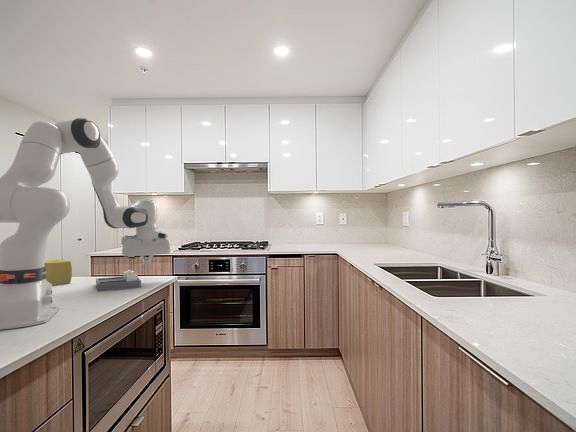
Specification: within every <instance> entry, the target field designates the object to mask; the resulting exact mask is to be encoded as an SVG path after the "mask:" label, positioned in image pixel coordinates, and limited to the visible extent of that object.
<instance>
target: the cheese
mask: <svg viewBox="0 0 576 432" xmlns="http://www.w3.org/2000/svg"><path fill="white" fill-rule="evenodd" d="M44 265H45V267H46V270H47V273H46V278H45V279H46V280H47V281H48V282H49V283H50V284H52V286H59V285H64V284H65V285H66V284H71V281H72V275H73V268H72V267H73V266H72V263H71V261H70V260H66V259H63V258H62V259H60V258H58V259H57V258H56V259H49V260H45V263H44Z"/></svg>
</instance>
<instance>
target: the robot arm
mask: <svg viewBox="0 0 576 432" xmlns="http://www.w3.org/2000/svg"><path fill="white" fill-rule="evenodd" d="M76 152H77V153H78V155H79V156H80V157H81V161H82V163H83V164H84V166H85V169H86V170H87V172H88V174H89V176H90V180H91V184H92V187H93V189H94V192H95V194H96V196H97V199H98V201H99V203H100V206H101V209H102V213H103V219H104V222H105V224H106V225H107V226H108V227H109V228H112V229H135V234H131V235H129V234H127V235H125V236H123V237H121V245H122V246H121V247H122V248H121V249H122V250H121V255H123V257H137V256H138V257H139V258H140V259H141V261H142V265H143V266H151V261H152V260H153V258H154V256H155V255H156V256H157V255H158V256H159V255H168V254H170V252H171V244H170V240H169V239H168V233H165V232H163V231H158V227H157V220H158V208H157V204H156V201H154V200H152V199H149V198H138V199H137V200H136V201H135V202H133V203H131V204H129V205H123V206H122V205H120V204H119V203H118V202H117V199H116V196H115V194H114V192H113V189H112V182H114V180H116V178H117V176H118V174H119V173H120V171H119V165H118V162H117V161H116V158H115V156H114V154H113V152H112V150H111V149H110V147H109V146H108V144H107V143H106V141H105V140H104V139H103V138H102V136H101V132H100V129H99V126H98V125H96V123H94V122H93V121H92V120H91V119H89V118H85V117H84V118H83V117H79V118H75V119H70V120H64V121H60V122H56V123H54V124H53V123H51V122H48V121H41V120H40V121H35V122H33V123H31V125H30V126H29V127H28V128H27V129H26V131H25V132H24V135H23V137H22V139H21V141H20V144H19V146H18V148H17V152H16V155H15V157H14V159H13V161H12V163H11V165H10V167H9V168H8V169H7V170H6V172H5V173H4V174H3V175H2V176H1V177H0V223H2V224H4V223H7V224H8V223H14V224H17V223H18V224H19V225H18V228H17V230H16V232H15V233H14V234H13V235H10V236H8V237H6V238H5V239H4V240H2V242H1V243H0V330H9V329H10V330H11V329H16V328H17V329H18V328H22V327H23V328H24V327H25V328H26V327H30V326H31V327H32V326H36V325H41V324H45V323H47V322H49V320H50V319H51V318H53V316H54V315H55V314H56V313H57V312H58V311H60V306H59V305H53V285H52V284H50V283H49V282H48V281H47V280H46V279H45V278H46V273H47V270H46V267H45V265H44V263H45V261H46V260H45V259H46V258H45V256H46V245H47V244H46V243H47V240H48V237H49V235H50V233H51V231H52V230H53V228H54V227H55V226H56V225H57V224H59V223H60V222H61V221H64V219H65V218H66V217H67V216H68V214H69V212H70V208H71V202H70V199H69V197H68V196H67V194H66V193H65V192H64V191H62V190H60V189H55V188H51V187H43V186H42V185H45V184H46V183H48V182H50V181H51V180H52V179H53V177H54V176H55V175H56V174H55V173H56V170H57V166H58V163H59V159H60V155H64V154H69V153H76ZM145 256H148V257H149V258H148V260H145V259H144V258H145Z"/></svg>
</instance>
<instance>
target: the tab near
mask: <svg viewBox="0 0 576 432" xmlns="http://www.w3.org/2000/svg"><path fill="white" fill-rule="evenodd" d="M137 277H138V274H137V273H135V274H133V273H130V274H126V282H128V281H137Z"/></svg>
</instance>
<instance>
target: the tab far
mask: <svg viewBox="0 0 576 432" xmlns="http://www.w3.org/2000/svg"><path fill="white" fill-rule="evenodd" d="M130 273H133V274H136V272H135V271H134V270H130V269H128V270H127V271H123V276H124V278H126V274H130Z"/></svg>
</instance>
